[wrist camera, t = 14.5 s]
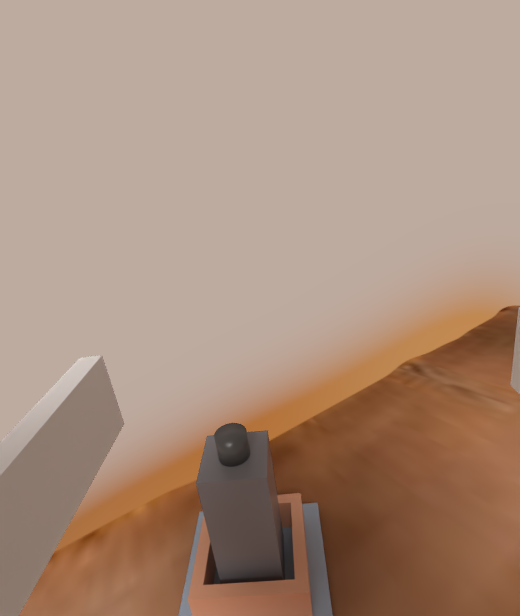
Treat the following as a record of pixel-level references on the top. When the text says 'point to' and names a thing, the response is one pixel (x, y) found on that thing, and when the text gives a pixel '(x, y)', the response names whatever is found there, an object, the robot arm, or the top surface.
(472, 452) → the top surface
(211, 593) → the end holder
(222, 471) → the bottle
